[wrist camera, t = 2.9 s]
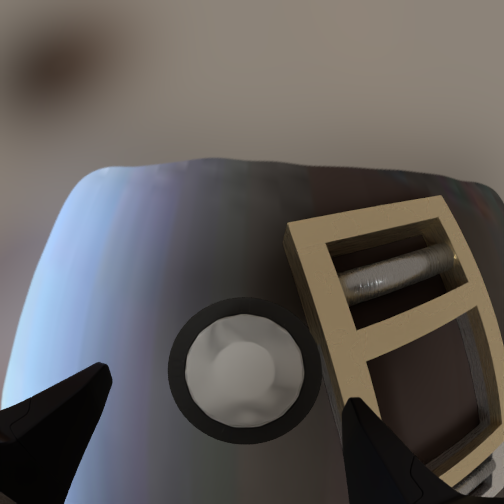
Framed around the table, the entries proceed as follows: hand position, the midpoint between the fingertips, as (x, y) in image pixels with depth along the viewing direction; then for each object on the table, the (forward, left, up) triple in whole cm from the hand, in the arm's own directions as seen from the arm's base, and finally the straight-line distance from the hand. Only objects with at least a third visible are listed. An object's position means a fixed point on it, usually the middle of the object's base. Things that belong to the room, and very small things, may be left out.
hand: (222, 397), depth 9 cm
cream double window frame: (+13, -6, -9) cm, 17 cm away
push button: (0, +1, -9) cm, 9 cm away
